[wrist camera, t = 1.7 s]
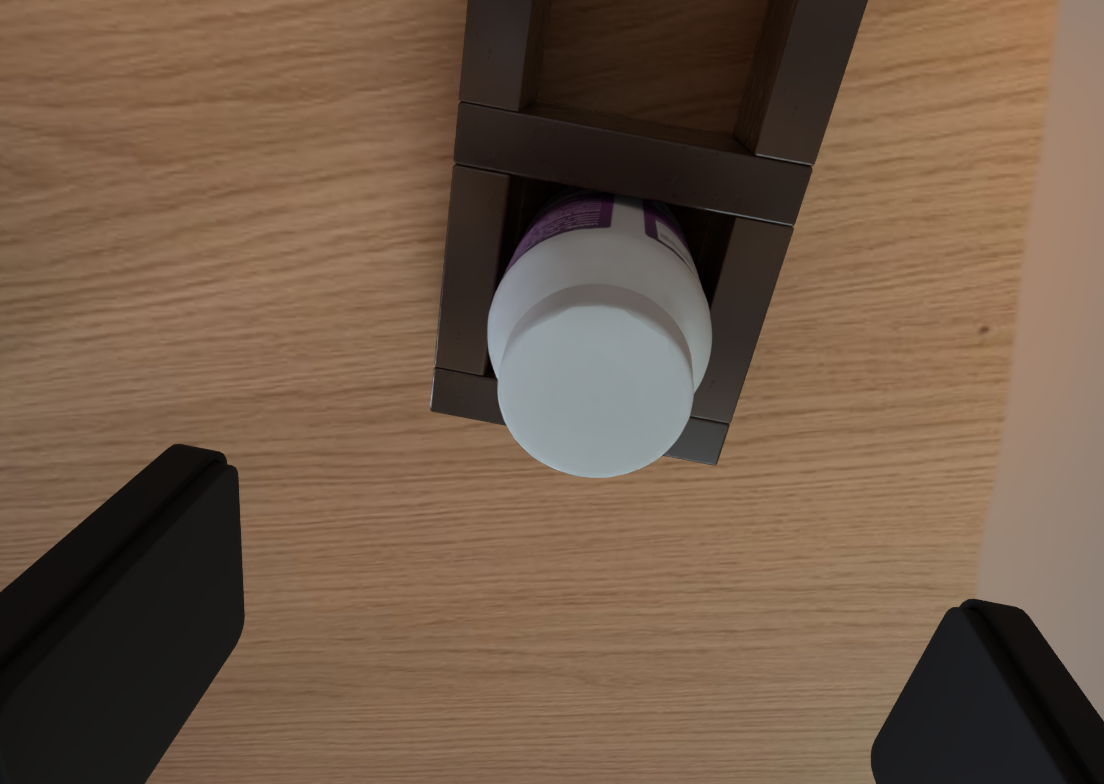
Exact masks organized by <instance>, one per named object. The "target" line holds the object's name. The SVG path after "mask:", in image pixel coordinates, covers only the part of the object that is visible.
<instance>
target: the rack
mask: <svg viewBox="0 0 1104 784" xmlns="http://www.w3.org/2000/svg"><path fill="white" fill-rule="evenodd" d="M867 2H868V0H768V4H767V7H766V11H765V15H764V19H763V22H762V26H761V30H760V34H759V37H758V41H757V45H756V49H755V52H754V56H753V60H752V64H751V67H750V71H749V75H748V78H747V82H746V86H745V90H744V93H743V97H742V101H741V105H740V108H739V112H738V116H737V120H736V123H735V127H734V131H733V136H729V135H724V134H719V133H713V132H708V131H702V130H697V129H692V128H686V127H681V126H675V125H670V124H665V123H659V122H654V121H648V120H643V119H638V118H632V117H627V116H621V115H616V114H611V113H605V112H600V111H594V110H589V109H584V108H578V107H573V106H567V105H562V104H557V103H551V102H546V101H540V100H536V99H537V98H538V91H539V84H540V77H541V70H542V63H543V56H544V49H545V42H546V35H547V28H548V21H549V14H550V7H551V0H468V6H467V17H466V27H465V38H464V49H463V59H462V70H461V81H460V91H459V100H460V101H461V102H460V103H459V106H458V116H457V127H456V138H455V148H454V159H453V160H454V163H456V164H454V166H453V170H452V181H451V192H450V202H449V213H448V223H447V234H446V245H445V255H444V266H443V277H442V287H441V298H440V309H439V319H438V330H437V341H436V351H435V362H434V364H435V368H434V372H433V382H432V393H431V404H430V410H431V411H432V412H438V413H443V414H448V415H453V416H459V417H464V418H469V419H474V420H479V421H485V422H490V423H495V424H500V425H506V423H505V421H504V419H503V416H502V413H501V410H500V406H499V401H498V379H497V377H496V375H495V372H494V369H493V366H492V363H491V359H490V355H489V350H488V316H489V311H490V308H491V304H492V301H493V298H494V295H495V293H496V291H497V288H498V286H499V284H500V282H501V280H502V278H503V276H504V274H505V272H506V269H507V267H508V265H509V263H510V261H511V259H512V257H513V255H514V253H515V251H516V245H517V238H518V231H519V224H520V217H521V210H522V203H523V196H524V189H525V182H526V177H528V178H534V179H539V180H544V181H550V182H555V183H560V184H566V185H571V186H576V187H582V188H587V189H592V190H598V191H603V192H608V193H614V194H619V195H625V196H630V197H635V198H641V199H646V200H651V201H657V202H662V203H667V204H673V205H678V206H683V207H689V208H694V209H699V210H705V211H710V212H712V213H711V216H710V220H709V224H708V227H707V231H706V235H705V239H704V242H703V246H702V250H701V254H700V257H699V261H698V265H697V269H696V271H697V274H698V277H699V280H700V283H701V286H702V289H703V292H704V294H705V296H706V299H707V302H708V306H709V310H710V318H711V326H712V345H711V353H710V358H709V362H708V366H707V368H706V371H705V374H704V377H703V379H702V381H701V383H700V385H699V387H698V388H697V390H696V391H695V393H694V397H693V404H692V409H691V413H690V417H689V419H688V421H687V424H686V426H685V427H684V429H683V431H682V433H681V435H680V436H679V438H678V439H677V440H676V442H675V443H674V444H673V445H672V446H671V447H670V448H669V449H668V450H667V451H666V452H665V453H664V454H663V455H662V456H668V457H673V458H678V459H683V460H688V461H694V462H699V463H704V464H709V465H716V464H717V463H718V460H719V457H720V453H721V450H722V447H723V444H724V441H725V438H726V435H727V432H728V429H729V426H730V425H729V423H731V421H732V418H733V414H734V411H735V408H736V405H737V402H738V399H739V396H740V393H741V390H742V387H743V384H744V381H745V378H746V375H747V371H748V368H749V365H750V362H751V359H752V356H753V353H754V350H755V347H756V344H757V341H758V338H759V335H760V332H761V328H762V325H763V322H764V319H765V316H766V313H767V310H768V307H769V304H770V301H771V298H772V295H773V292H774V288H775V285H776V282H777V279H778V276H779V273H780V270H781V267H782V264H783V261H784V258H785V255H786V252H787V249H788V245H789V242H790V239H791V236H792V233H793V230H794V228H793V227H792V226H794V225H795V223H796V220H797V216H798V213H799V210H800V207H801V204H802V201H803V198H804V195H805V192H806V189H807V186H808V183H809V180H810V177H811V173H812V167H811V166H813V165H814V164H815V162H816V159H817V156H818V152H819V149H820V146H821V143H822V140H823V137H824V134H825V131H826V128H827V125H828V122H829V119H830V116H831V112H832V109H833V106H834V103H835V100H836V97H837V94H838V91H839V88H840V85H841V82H842V79H843V76H844V73H845V69H846V66H847V63H848V60H849V57H850V54H851V51H852V48H853V45H854V42H855V39H856V36H857V33H858V30H859V26H860V23H861V20H862V17H863V14H864V11H865V8H866V5H867ZM506 426H507V425H506Z"/></svg>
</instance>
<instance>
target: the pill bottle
mask: <svg viewBox="0 0 1104 784" xmlns="http://www.w3.org/2000/svg"><path fill="white" fill-rule="evenodd" d="M711 345H712V326H711V318H710V310H709V306H708V302H707V299H706V296H705V294H704V292H703V289H702V286H701V283H700V280H699V277H698V274H697V271H696V267H695V265H694V262H693V259H692V256H691V253H690V250H689V247H688V244H687V240H686V238H685V235H684V233H683V231H682V228H681V226H680V224H679V223H678V221H677V219H676V218H675V216H674V215H673V213H672V212H671V211H670V210H669V208H668V207H667V206H666V205H665V204H664V203H662V202H657V201H651V200H646V199H641V198H635V197H630V196H625V195H619V194H614V193H608V192H603V191H598V190H592V189H587V188H582V187H576V186H569V187H567V188H565V189H563V190H561V191H560V192H558V193H557V194H555V195H554V196H553V197H551V198H550V199H549V200H548V201H547V202H546V203H545V204H544V205H543V206H542V207H541V208H540V209H539V211H538V212H537V213H536V215H535V216H534V217H533V219H532V220H531V222H530V224H529V225H528V227H527V229H526V231H525V233H524V235H523V237H522V239H521V240H520V243H519V245H518V247H517V249H516V251H515V253H514V255H513V257H512V259H511V261H510V263H509V265H508V267H507V269H506V272H505V274H504V276H503V278H502V280H501V282H500V284H499V286H498V288H497V291H496V293H495V295H494V298H493V301H492V304H491V308H490V311H489V316H488V350H489V355H490V359H491V363H492V366H493V369H494V372H495V375H496V377H497V379H498V401H499V406H500V410H501V413H502V416H503V419H504V421H505V423H506V425H507V427H508V429H509V431H510V432H511V434H512V436H513V437H514V438H515V440H516V441H517V442H518V443H519V444H520V445H521V446H522V447H523V448H524V449H525V450H526V451H527V452H528V453H529V454H530V455H532V456H533V457H534V458H536V459H537V460H539V461H540V462H542V463H544V464H546V465H548V466H549V467H551V468H553V469H556V470H559V471H562V472H564V473H567V474H571V475H574V476H580V477H590V478H603V477H613V476H618V475H623V474H627V473H630V472H633V471H635V470H638V469H640V468H643V467H645V466H647V465H648V464H650V463H652V462H654V461H655V460H657V459H658V458H659V457H661V456H662V455H663V454H664V453H665V452H666V451H667V450H668V449H669V448H670V447H671V446H672V445H673V444H674V443H675V442H676V440H677V439H678V438H679V436H680V435H681V433H682V431H683V429H684V427H685V426H686V424H687V421H688V419H689V417H690V413H691V409H692V404H693V397H694V393H695V391H696V390H697V388H698V387H699V385H700V383H701V381H702V379H703V377H704V374H705V371H706V368H707V366H708V362H709V358H710V353H711Z"/></svg>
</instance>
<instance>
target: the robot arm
mask: <svg viewBox="0 0 1104 784" xmlns="http://www.w3.org/2000/svg"><path fill="white" fill-rule="evenodd" d="M244 618H245V614H244V591H243V569H242V547H241V525H240V503H239V481H238V471H237V469H236V467H234V466H232V465H227V459H226V457H225V455H224V454H223V453H221V452H219V451H214V450H209V449H204V448H198V447H193V446H188V445H183V444H174V445H172V446H171V447H169V448H168V449H167V450H165V451H164V452H163V453H162V454H161V455H160V456H158V457H157V458H156V459H155V460H154V461H153V462H151V463H150V464H149V465H148V466H147V467H146V468H144V469H143V470H142V471H141V472H140V473H139V474H137V475H136V476H135V477H134V478H133V479H132V480H130V481H129V482H128V483H127V484H126V485H125V486H123V487H122V488H121V489H120V490H119V491H118V492H116V493H115V494H114V495H113V496H112V497H111V498H110V499H108V500H107V501H106V502H105V503H104V504H103V505H101V506H100V507H99V508H98V509H97V510H96V511H94V512H93V513H92V514H91V515H90V516H89V517H87V518H86V519H85V520H84V521H83V522H82V523H80V524H79V525H78V526H77V527H76V528H75V529H73V530H72V531H71V532H70V533H69V534H68V535H66V536H65V537H64V538H63V539H62V540H61V541H59V542H58V543H57V544H56V545H55V546H54V547H52V548H51V549H50V550H49V551H48V552H47V553H46V554H44V555H43V556H42V557H41V558H40V559H39V560H37V561H36V562H35V563H34V564H33V565H32V566H30V567H29V568H28V569H27V570H26V571H25V572H23V573H22V574H21V575H20V576H19V577H18V578H16V579H15V580H14V581H13V582H12V583H11V584H9V585H8V586H7V587H6V588H5V589H4V590H2V591H1V592H0V784H145V782H146V781H147V779H148V778H149V776H150V775H151V773H152V772H153V770H154V769H155V767H156V766H157V764H158V763H159V761H160V760H161V758H162V757H163V755H164V754H165V752H166V751H167V749H168V748H169V746H170V744H171V743H172V741H173V740H174V738H175V737H176V735H177V734H178V732H179V731H180V729H181V728H182V726H183V725H184V723H185V722H186V720H187V719H188V717H189V716H190V714H191V713H192V711H193V710H194V708H195V707H196V705H197V704H198V702H199V701H200V699H201V698H202V696H203V695H204V693H205V692H206V690H207V689H208V687H209V686H210V684H211V683H212V681H213V679H214V678H215V676H216V675H217V673H218V672H219V670H220V669H221V667H222V666H223V664H224V663H225V661H226V660H227V658H228V657H229V655H230V654H231V652H232V651H233V649H234V648H235V646H236V644H237V642H238V640H239V638H240V636H241V633H242V630H243V626H244ZM871 768H872V772H873V776H874V779H875V781H876V784H1104V721H1103V720H1102V718H1101V717H1100V716H1099V714H1098V713H1097V711H1096V710H1095V709H1094V707H1093V706H1092V704H1091V703H1090V701H1089V700H1088V699H1087V697H1086V696H1085V694H1084V693H1083V692H1082V690H1081V689H1080V688H1079V686H1078V685H1077V683H1076V682H1075V681H1074V679H1073V678H1072V676H1071V675H1070V673H1069V672H1068V671H1067V669H1066V668H1065V666H1064V665H1063V664H1062V662H1061V661H1060V659H1059V658H1058V656H1057V655H1056V654H1055V653H1054V651H1053V649H1052V648H1051V647H1050V645H1049V644H1048V642H1047V641H1046V640H1045V638H1044V637H1043V636H1042V634H1041V633H1040V631H1039V630H1038V628H1037V627H1036V626H1035V624H1034V623H1033V621H1032V620H1031V619H1030V617H1029V616H1028V615H1027V614H1026V613H1025V612H1024V611H1023V610H1022V609H1019V608H1017V607H1014V606H1009V605H1003V604H998V603H993V602H988V601H983V600H978V599H968V600H966V601H964V602H963V603H962V604H961V605H960V606H959V607H952V608H951V609H949V610H948V611H947V612H946V614H945V615H944V617H943V619H942V621H941V622H940V624H939V626H938V628H937V630H936V631H935V633H934V635H933V637H932V639H931V640H930V642H929V644H928V646H927V647H926V649H925V651H924V653H923V655H922V656H921V658H920V660H919V662H918V664H917V665H916V667H915V669H914V671H913V673H912V674H911V676H910V678H909V680H908V682H907V683H906V685H905V687H904V689H903V691H902V692H901V694H900V696H899V698H898V699H897V701H896V703H895V705H894V707H893V708H892V710H891V712H890V714H889V716H888V717H887V719H886V721H885V723H884V725H883V726H882V728H881V730H880V732H879V734H878V735H877V737H876V739H875V741H874V743H873V746H872V750H871Z"/></svg>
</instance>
